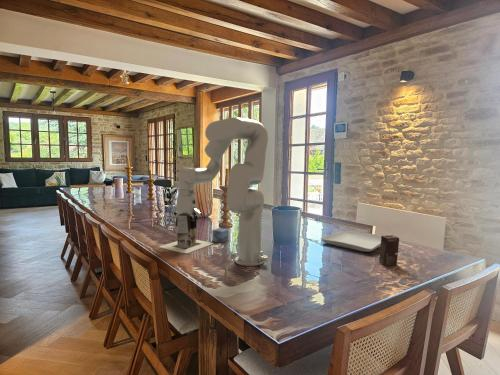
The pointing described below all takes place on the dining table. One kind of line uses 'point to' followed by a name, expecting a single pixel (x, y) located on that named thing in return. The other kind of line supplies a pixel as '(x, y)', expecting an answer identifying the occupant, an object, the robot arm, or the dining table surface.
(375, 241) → the square plate
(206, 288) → the dining table surface
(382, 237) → the box
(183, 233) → the coffee box
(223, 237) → the blue cube
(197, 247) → the card
